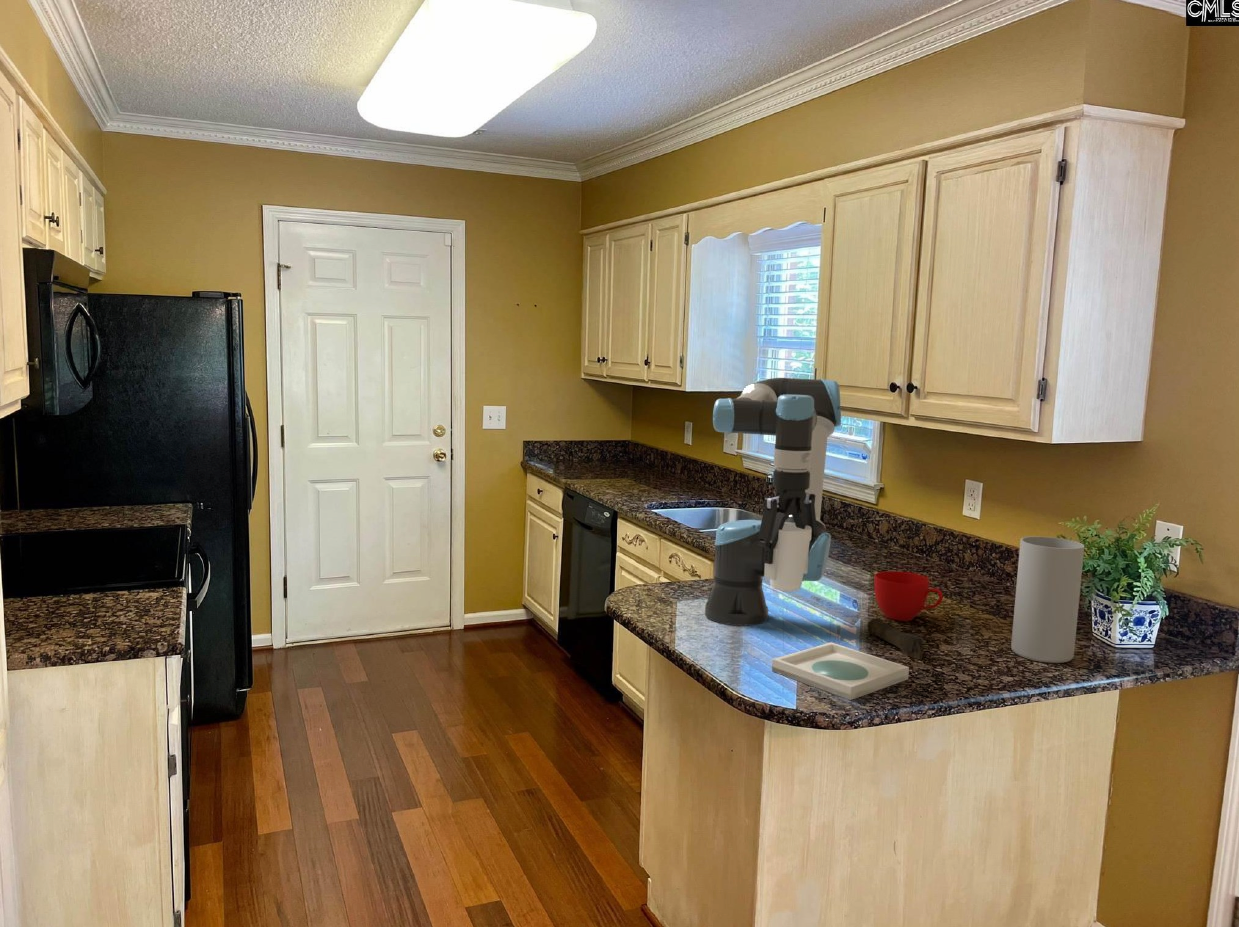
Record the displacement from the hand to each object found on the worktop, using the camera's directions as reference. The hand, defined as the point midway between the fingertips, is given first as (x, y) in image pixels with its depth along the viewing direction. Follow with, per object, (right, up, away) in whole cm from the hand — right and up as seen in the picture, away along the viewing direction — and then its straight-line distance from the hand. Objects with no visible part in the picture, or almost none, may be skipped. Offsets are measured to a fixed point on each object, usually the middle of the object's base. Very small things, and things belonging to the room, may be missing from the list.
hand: (785, 575), depth 196 cm
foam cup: (0, -3, 0) cm, 3 cm away
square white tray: (+9, -19, -9) cm, 23 cm away
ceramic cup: (+35, -15, +32) cm, 50 cm away
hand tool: (+27, -17, +11) cm, 34 cm away
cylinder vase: (+57, -18, +8) cm, 61 cm away
